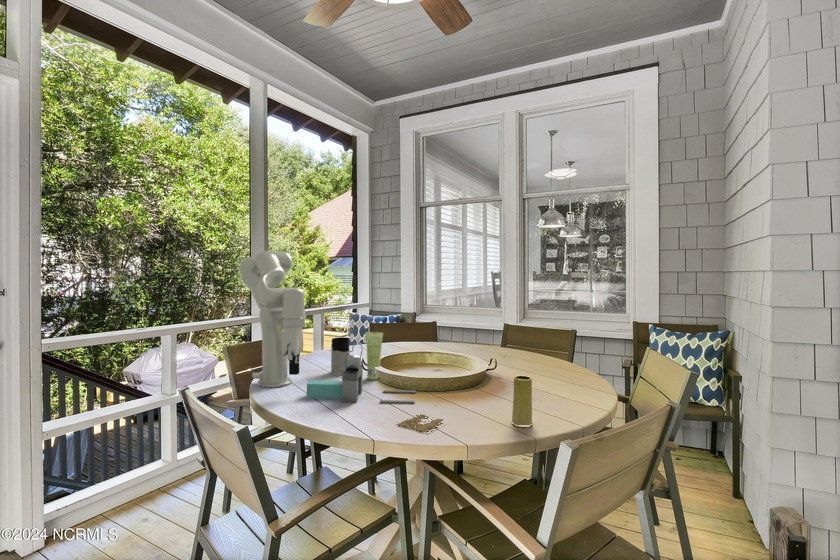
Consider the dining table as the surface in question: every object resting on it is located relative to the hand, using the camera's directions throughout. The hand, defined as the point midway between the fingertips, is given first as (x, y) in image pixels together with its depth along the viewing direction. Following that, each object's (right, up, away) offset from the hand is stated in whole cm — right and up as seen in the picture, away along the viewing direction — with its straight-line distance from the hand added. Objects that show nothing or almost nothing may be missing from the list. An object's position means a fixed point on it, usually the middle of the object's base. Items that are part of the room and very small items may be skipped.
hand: (294, 373), depth 155 cm
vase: (+76, -10, -24) cm, 80 cm away
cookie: (+46, -10, -25) cm, 53 cm away
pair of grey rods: (+37, -9, 0) cm, 38 cm away
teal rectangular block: (+13, -8, +1) cm, 16 cm away
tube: (+26, -8, +26) cm, 37 cm away
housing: (+21, -8, +1) cm, 22 cm away
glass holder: (+13, -7, +34) cm, 37 cm away
